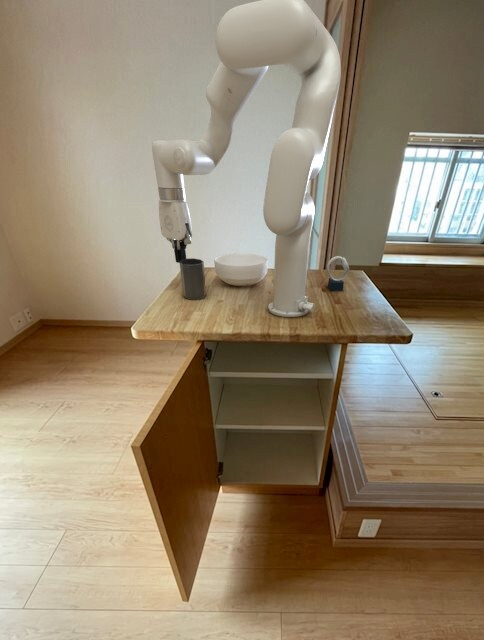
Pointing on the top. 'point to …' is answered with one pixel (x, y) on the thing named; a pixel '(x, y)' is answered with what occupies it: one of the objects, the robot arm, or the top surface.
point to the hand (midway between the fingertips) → (181, 261)
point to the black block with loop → (337, 283)
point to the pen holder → (193, 278)
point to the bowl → (241, 268)
